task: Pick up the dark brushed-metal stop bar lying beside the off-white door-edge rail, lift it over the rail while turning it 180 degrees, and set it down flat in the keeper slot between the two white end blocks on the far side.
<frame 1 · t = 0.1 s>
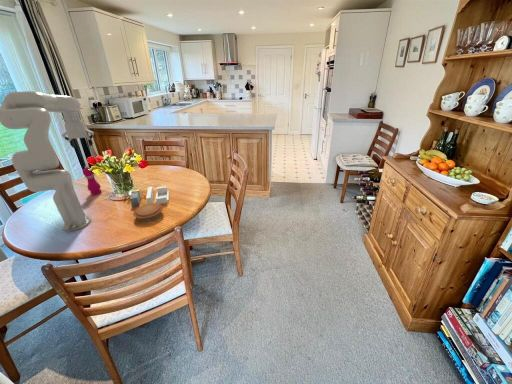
hand: (82, 146, 152), 31 cm above the table, fingers open, 9 cm apart
stop bar: (136, 201, 149), on the table
jamb: (153, 199, 151), on the table
pie: (149, 215, 134), on the table
pepper mill: (96, 193, 161), on the table
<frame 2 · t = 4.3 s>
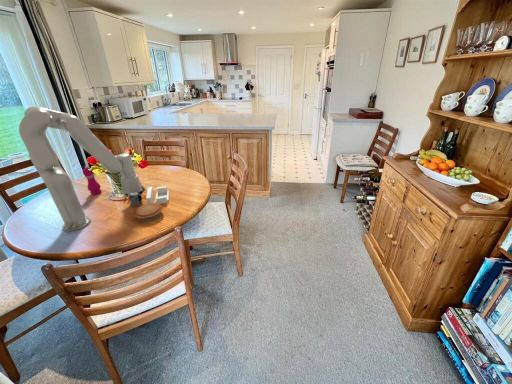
hand: (136, 200, 149), 1 cm above the table, fingers closed on stop bar, 4 cm apart
stop bar: (136, 201, 149), on the table, touching gripper
everything else where it was.
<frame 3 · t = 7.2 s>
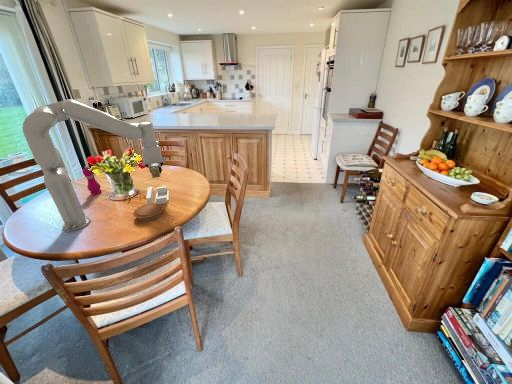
hand: (156, 173, 145), 17 cm above the table, fingers closed on stop bar, 4 cm apart
stop bar: (156, 174, 145), point 17 cm above the table, touching gripper
everything else where it was.
when the fingers open (2 cm above the table, at t = 10.3 s): stop bar drops 1 cm, resting on jamb.
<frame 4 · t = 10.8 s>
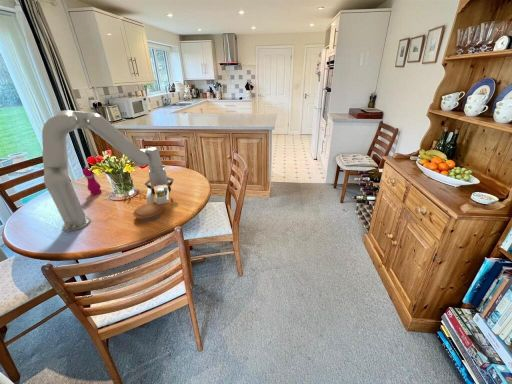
hand: (162, 192, 152), 3 cm above the table, fingers open, 9 cm apart
stop bar: (162, 197, 153), resting on jamb
everything else where it was.
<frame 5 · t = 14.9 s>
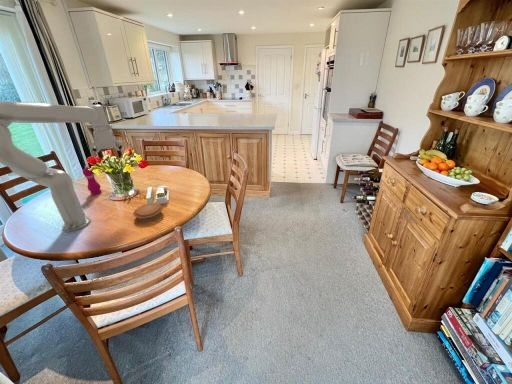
hand: (110, 157, 139), 28 cm above the table, fingers open, 9 cm apart
nothing on the table moved.
at the end: stop bar 0.1 cm from the target spot on the jamb, point 0.3 cm above the jamb's base; stop bar tilted 0°; the gripper is holding nothing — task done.
